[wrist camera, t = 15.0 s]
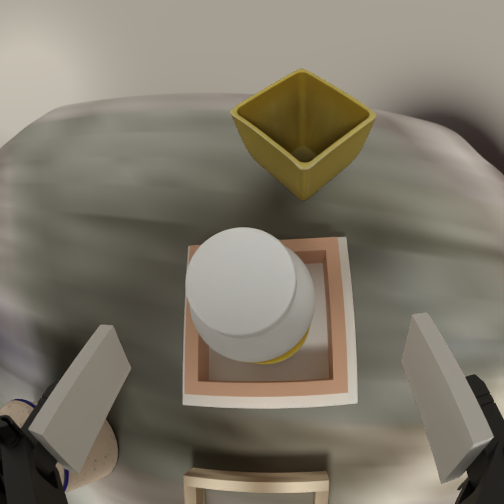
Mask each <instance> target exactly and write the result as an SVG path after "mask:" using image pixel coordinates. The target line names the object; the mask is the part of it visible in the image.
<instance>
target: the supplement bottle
mask: <svg viewBox="0 0 504 504" xmlns="http://www.w3.org/2000/svg"><path fill="white" fill-rule="evenodd" d="M185 289H186V295H187V298H188V302H189V304H190V313H191V317H192V320H193V323H194V325H195V328H196V330H197V331H198V333H199V334H200V336H201V337H202V339H203V340H204V341H205V342H206V343H207V344H208V345H209V346H210V347H211V348H212V349H213V350H215V351H216V352H218V353H219V354H221V355H223V356H225V357H227V358H230V359H233V360H237V361H241V362H249V363H256V364H275V363H279V362H282V361H285V360H287V359H289V358H290V357H292V356H293V355H294V354H295V353H297V352H298V351H299V349H300V348H301V347H302V346H303V344H304V342H305V340H306V338H307V336H308V333H309V329H310V325H311V322H312V318H313V315H314V310H315V288H314V284H313V280H312V277H311V275H310V273H309V271H308V269H307V267H306V266H305V264H304V263H303V261H302V260H301V259H300V258H299V257H298V256H297V255H296V254H295V253H294V252H293V251H291V250H290V249H289V248H287V247H285V246H284V245H283V244H282V243H281V242H280V241H279V240H278V239H276V238H275V237H274V236H272V235H270V234H268V233H266V232H265V231H262V230H258V229H255V228H248V227H239V228H231V229H228V230H224V231H221V232H219V233H217V234H215V235H214V236H212V237H210V238H209V239H208V240H206V241H205V242H204V243H203V244H202V245H201V246H200V247H199V248H198V249H197V251H196V252H195V254H194V255H193V257H192V259H191V260H190V263H189V266H188V269H187V273H186V280H185Z"/></svg>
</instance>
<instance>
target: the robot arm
mask: <svg viewBox="0 0 504 504" xmlns="http://www.w3.org/2000/svg"><path fill="white" fill-rule="evenodd" d="M401 364H402V366H403V369H404V371H405V374H406V377H407V379H408V382H409V385H410V387H411V390H412V393H413V395H414V398H415V401H416V404H417V407H418V410H419V412H420V415H421V418H422V421H423V424H424V427H425V430H426V434H427V437H428V440H429V443H430V446H431V450H432V453H433V456H434V460H435V463H436V467H437V470H438V474H439V477H440V481H441V484H442V483H445V482H448V481H451V480H454V479H457V478H460V476H461V475H462V474H463V473H464V472H465V471H467V474H468V478H467V479H466V480H465V481H464V482H463V483H462V484H461V485H460V486H459V488H458V489H457V490H460V489H461V488H462V487H463V488H462V490H461V492H460V494H459V496H458V498H457V500H456V502H455V504H504V419H503V417H502V415H501V413H500V411H499V409H498V407H497V405H496V403H494V400H493V398H492V396H491V395H490V392H489V390H488V388H487V387H486V385H485V383H484V382H483V381H482V380H481V379H480V378H479V377H477V376H476V375H475V374H474V375H470V376H467V377H465V376H464V374H463V372H462V371H461V369H460V367H459V365H458V363H457V361H456V360H455V358H454V356H453V354H452V353H451V351H450V349H449V347H448V346H447V344H446V342H445V340H444V339H443V337H442V335H441V334H440V332H439V330H438V329H437V327H436V325H435V324H434V322H433V321H432V319H431V317H430V316H429V314H428V313H420V314H412V316H411V321H410V326H409V331H408V335H407V339H406V344H405V348H404V352H403V356H402V360H401ZM130 370H131V366H130V364H129V362H128V360H127V357H126V355H125V353H124V350H123V348H122V346H121V343H120V341H119V338H118V336H117V333H116V331H115V328H114V326H113V325H100V326H99V327H98V328H97V330H96V331H95V332H94V334H93V335H92V336H91V338H90V339H89V340H88V342H87V343H86V344H85V346H84V347H83V349H82V350H81V351H80V353H79V354H78V355H77V357H76V358H75V360H74V361H73V362H72V364H71V365H70V367H69V368H68V370H67V371H66V372H65V374H64V375H63V377H62V378H61V380H60V381H56V382H54V383H53V384H52V385H51V386H49V387H48V388H47V390H46V391H45V393H44V394H43V395H42V398H40V400H39V401H38V405H36V406H35V407H34V409H33V410H32V412H31V413H30V415H29V416H28V418H27V420H26V421H25V423H24V424H23V426H22V427H21V428H19V426H18V425H17V424H16V423H15V422H14V420H13V419H12V418H11V417H10V416H8V415H0V504H68V502H67V498H66V495H65V492H64V488H63V485H62V481H61V478H60V474H59V471H58V469H57V467H56V464H57V462H59V463H60V464H61V465H62V466H63V467H64V468H65V469H67V470H69V471H72V472H74V473H77V474H79V473H80V471H81V469H82V467H83V465H84V463H85V460H86V458H87V456H88V454H89V452H90V450H91V448H92V446H93V444H94V441H95V439H96V437H97V435H98V433H99V431H100V429H101V427H102V425H103V423H104V421H105V419H106V417H107V415H108V413H109V411H110V409H111V407H112V405H113V403H114V401H115V399H116V397H117V395H118V393H119V391H120V389H121V387H122V385H123V384H124V382H125V380H126V378H127V376H128V374H129V372H130Z"/></svg>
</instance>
